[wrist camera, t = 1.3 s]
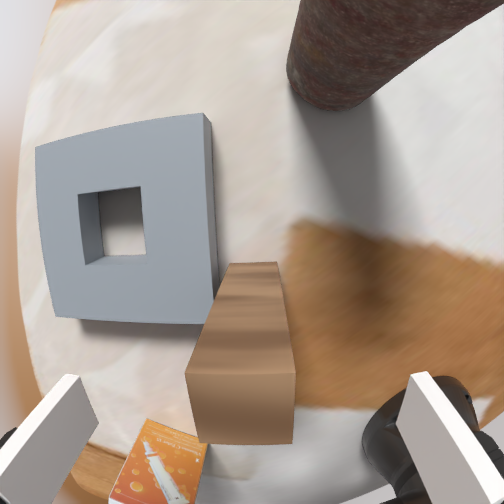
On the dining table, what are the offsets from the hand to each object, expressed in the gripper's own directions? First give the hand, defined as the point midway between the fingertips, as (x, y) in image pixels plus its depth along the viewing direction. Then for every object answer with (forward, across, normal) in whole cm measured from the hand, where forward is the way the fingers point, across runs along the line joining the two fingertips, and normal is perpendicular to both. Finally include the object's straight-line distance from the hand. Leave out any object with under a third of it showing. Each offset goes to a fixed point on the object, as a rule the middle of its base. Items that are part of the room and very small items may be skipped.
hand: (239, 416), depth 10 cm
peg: (+16, 0, 0) cm, 17 cm away
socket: (+16, +11, -6) cm, 21 cm away
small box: (+16, +11, +21) cm, 29 cm away
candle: (+17, -7, -18) cm, 25 cm away
